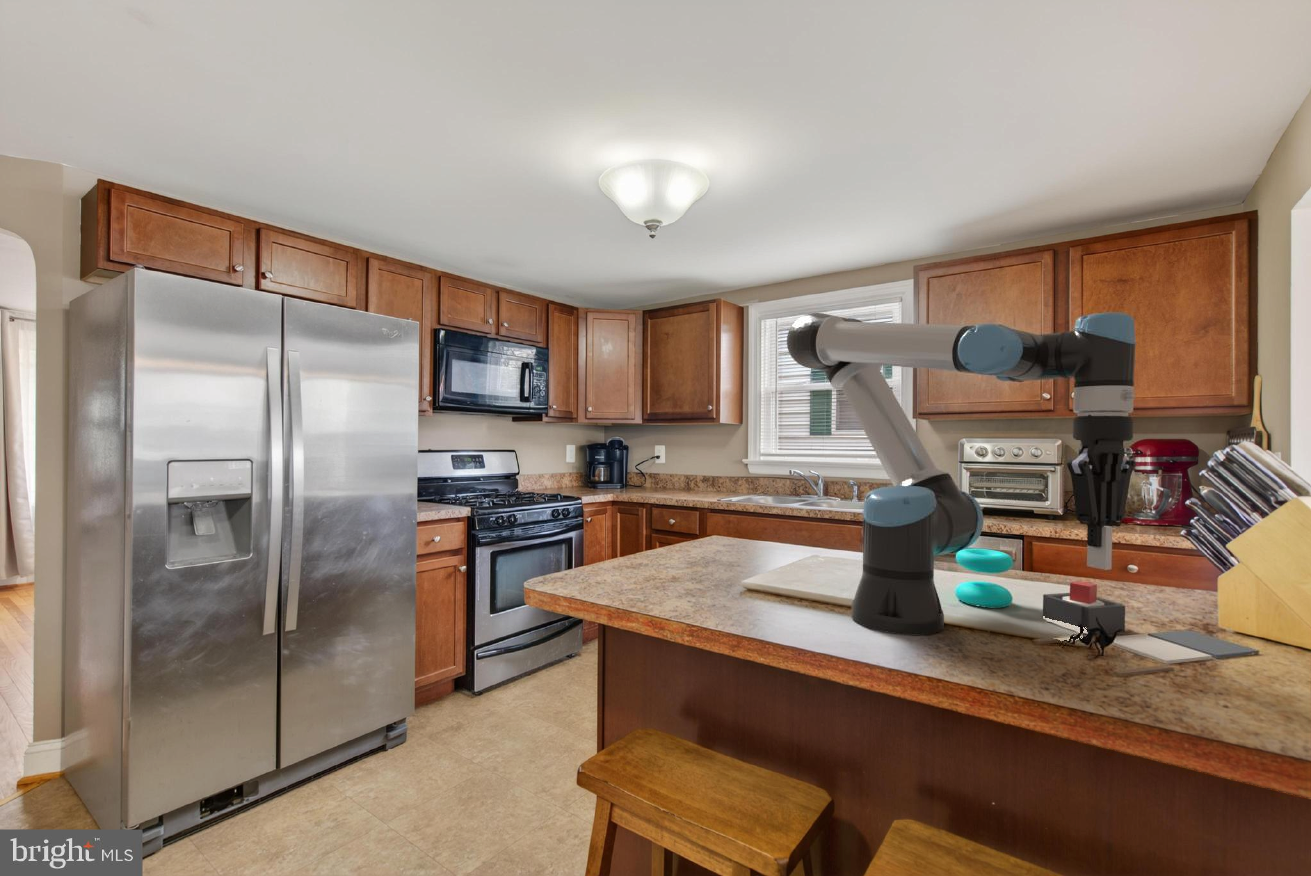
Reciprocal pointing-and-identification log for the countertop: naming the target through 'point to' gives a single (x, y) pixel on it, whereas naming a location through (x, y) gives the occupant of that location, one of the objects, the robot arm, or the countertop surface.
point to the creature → (1102, 639)
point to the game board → (1139, 635)
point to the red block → (1083, 594)
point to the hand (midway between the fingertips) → (1099, 567)
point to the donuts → (984, 591)
